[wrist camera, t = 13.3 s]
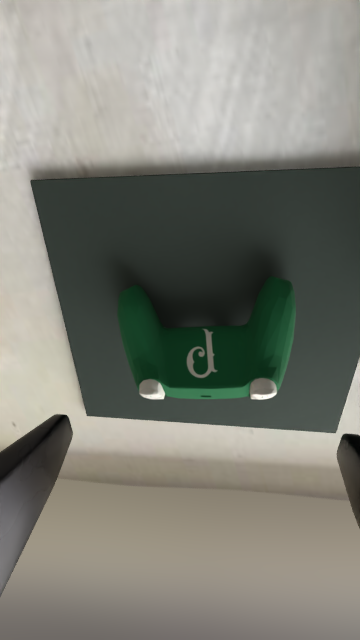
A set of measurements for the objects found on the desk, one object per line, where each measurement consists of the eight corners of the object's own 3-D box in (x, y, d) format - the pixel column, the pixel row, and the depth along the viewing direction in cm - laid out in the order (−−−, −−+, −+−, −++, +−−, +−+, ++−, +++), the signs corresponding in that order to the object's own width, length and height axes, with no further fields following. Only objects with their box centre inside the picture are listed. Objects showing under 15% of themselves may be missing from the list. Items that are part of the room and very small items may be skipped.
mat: (414, 165, 12) (420, 164, 11) (333, 428, 18) (335, 433, 18) (34, 180, 14) (29, 180, 13) (88, 412, 20) (86, 416, 20)
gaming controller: (136, 307, 18) (130, 400, 16) (114, 280, 14) (103, 397, 12) (279, 299, 16) (292, 401, 14) (295, 268, 13) (315, 397, 11)
